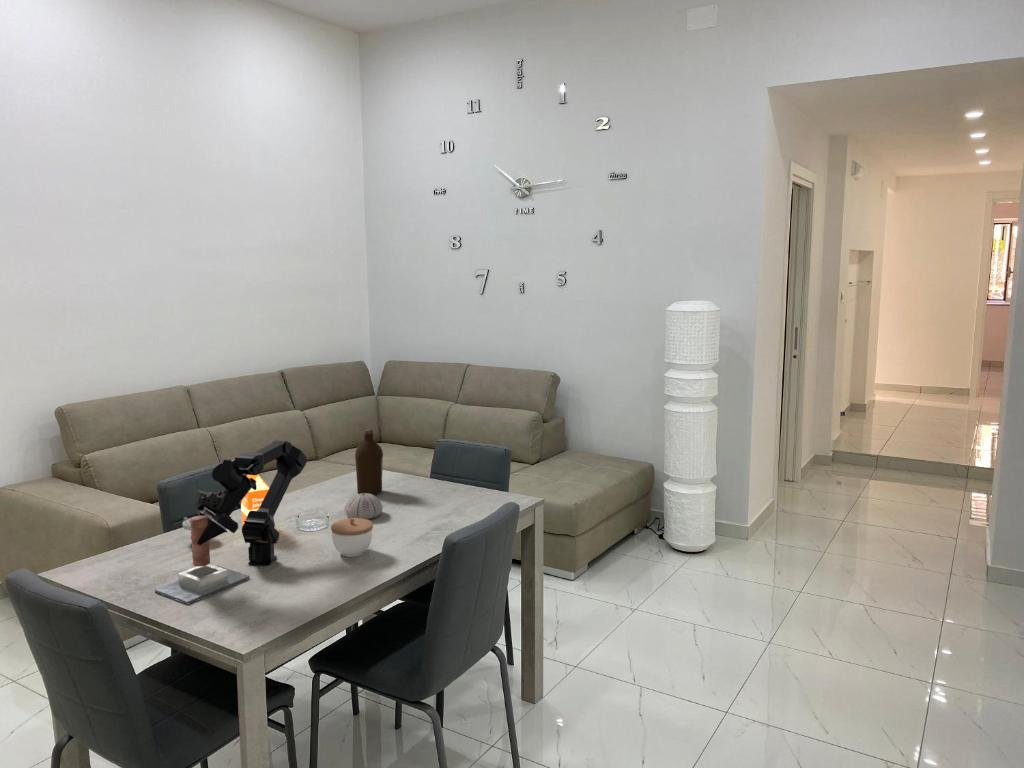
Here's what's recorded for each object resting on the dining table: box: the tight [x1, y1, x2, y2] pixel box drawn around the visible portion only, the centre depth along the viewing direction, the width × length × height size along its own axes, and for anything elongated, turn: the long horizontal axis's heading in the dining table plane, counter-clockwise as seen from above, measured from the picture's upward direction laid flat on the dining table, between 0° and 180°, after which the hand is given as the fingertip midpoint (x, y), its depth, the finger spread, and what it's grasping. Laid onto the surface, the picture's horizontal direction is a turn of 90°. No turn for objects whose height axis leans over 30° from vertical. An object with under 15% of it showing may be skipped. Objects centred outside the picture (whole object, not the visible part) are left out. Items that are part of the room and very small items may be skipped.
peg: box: [189, 515, 211, 567], centre depth 211 cm, size 4×4×13 cm
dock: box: [154, 563, 251, 605], centre depth 212 cm, size 20×14×4 cm
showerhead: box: [182, 516, 214, 531], centre depth 246 cm, size 9×7×10 cm
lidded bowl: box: [330, 517, 374, 558], centre depth 237 cm, size 13×13×11 cm
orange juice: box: [240, 474, 270, 527], centre depth 256 cm, size 8×9×20 cm
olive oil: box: [354, 428, 384, 496], centre depth 297 cm, size 11×11×25 cm
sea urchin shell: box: [344, 493, 383, 520], centre depth 272 cm, size 13×14×8 cm
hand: (195, 541), depth 210 cm, fingers closed on peg, 4 cm apart
